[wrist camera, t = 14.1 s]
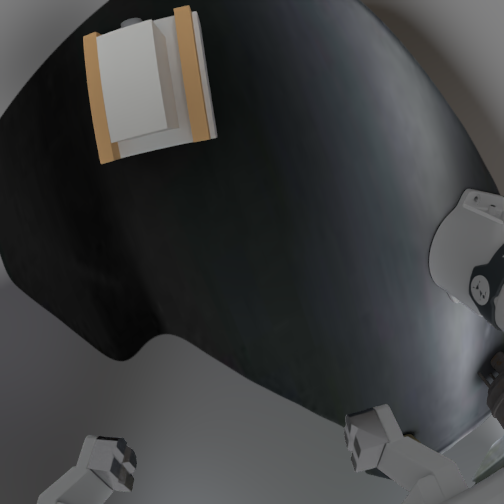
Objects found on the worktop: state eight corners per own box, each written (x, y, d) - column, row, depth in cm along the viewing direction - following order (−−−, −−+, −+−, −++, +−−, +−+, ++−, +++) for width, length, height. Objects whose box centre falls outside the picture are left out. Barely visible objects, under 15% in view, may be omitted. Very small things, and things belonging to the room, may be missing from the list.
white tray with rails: (200, 22, 27) (194, 4, 22) (217, 136, 33) (214, 138, 27) (100, 49, 27) (78, 38, 22) (116, 158, 33) (96, 165, 27)
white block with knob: (179, 128, 29) (167, 128, 23) (132, 139, 29) (111, 143, 23) (163, 24, 24) (149, 4, 19) (117, 37, 24) (95, 22, 19)
